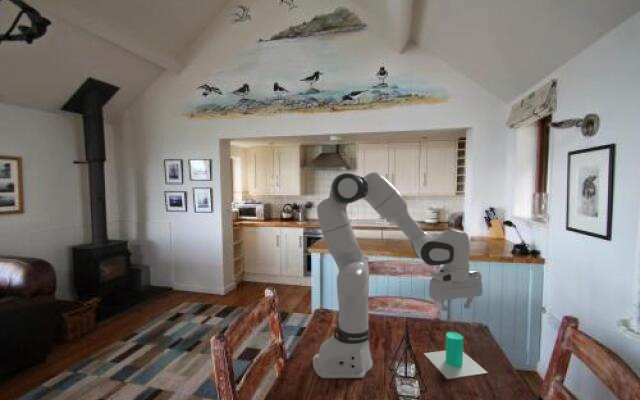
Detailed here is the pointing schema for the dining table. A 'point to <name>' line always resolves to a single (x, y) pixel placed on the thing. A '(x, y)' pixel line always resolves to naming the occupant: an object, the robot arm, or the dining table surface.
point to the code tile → (452, 372)
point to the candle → (454, 349)
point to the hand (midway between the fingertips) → (455, 309)
